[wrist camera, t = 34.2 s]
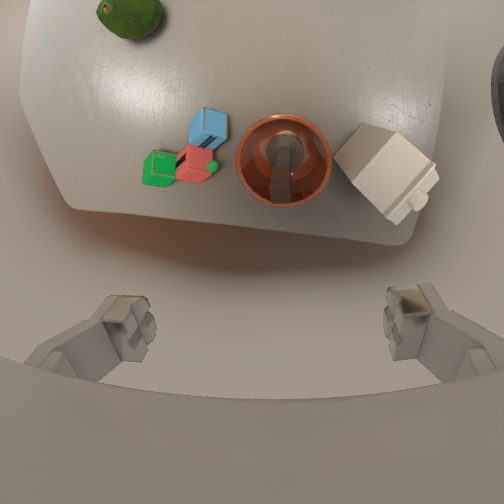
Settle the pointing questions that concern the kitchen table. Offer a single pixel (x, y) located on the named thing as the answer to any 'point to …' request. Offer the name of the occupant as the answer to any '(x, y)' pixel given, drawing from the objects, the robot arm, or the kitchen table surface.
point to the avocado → (130, 16)
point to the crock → (302, 177)
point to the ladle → (283, 164)
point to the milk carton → (387, 170)
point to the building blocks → (189, 153)
